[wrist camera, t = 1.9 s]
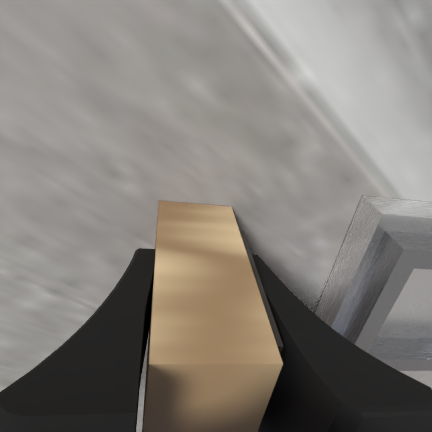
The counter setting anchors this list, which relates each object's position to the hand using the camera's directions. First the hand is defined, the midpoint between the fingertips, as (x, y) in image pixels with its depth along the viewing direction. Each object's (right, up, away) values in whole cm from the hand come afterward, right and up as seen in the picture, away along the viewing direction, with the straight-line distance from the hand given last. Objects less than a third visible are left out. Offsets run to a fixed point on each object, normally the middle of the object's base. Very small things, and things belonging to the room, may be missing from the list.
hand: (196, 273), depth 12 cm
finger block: (0, +1, +1) cm, 2 cm away
